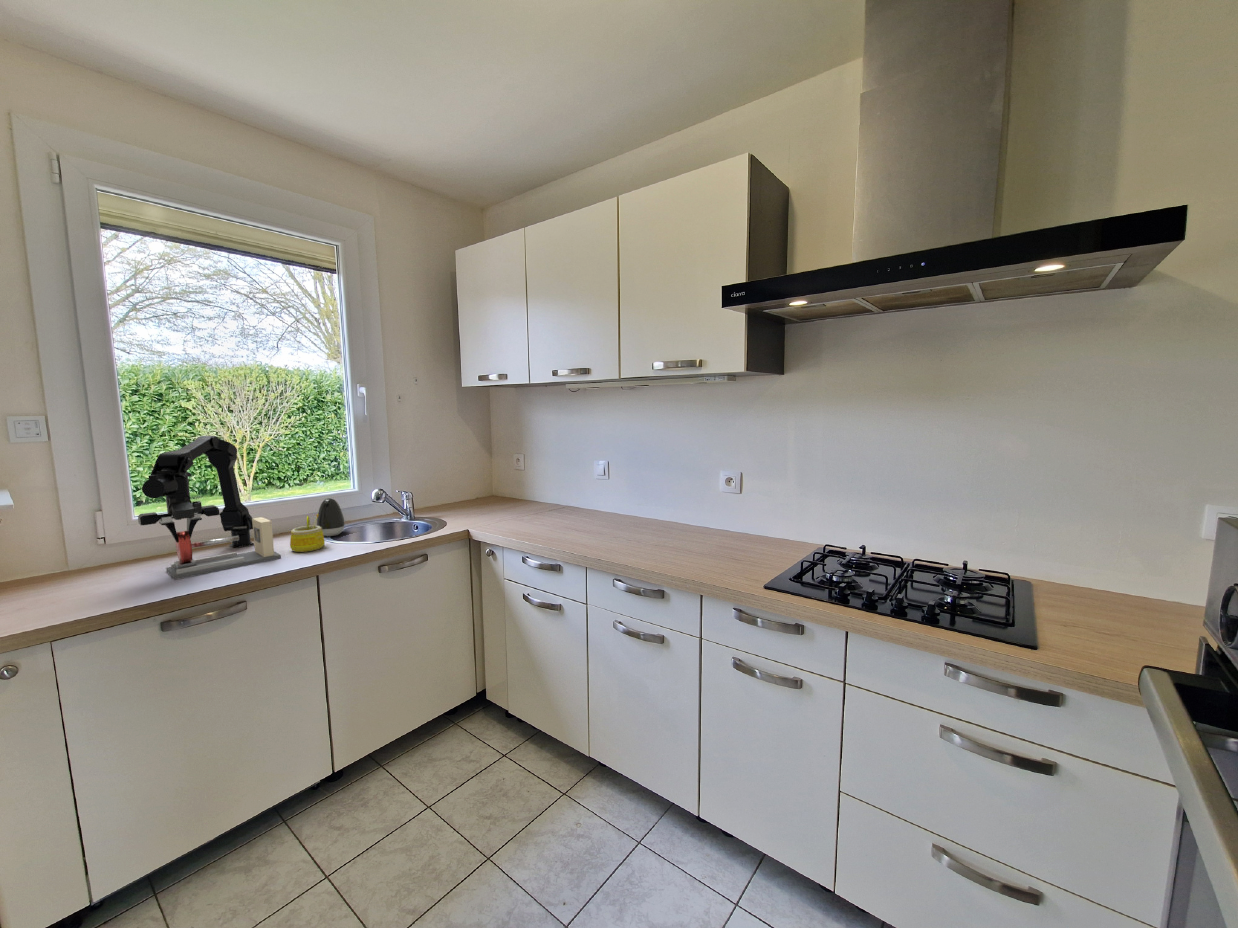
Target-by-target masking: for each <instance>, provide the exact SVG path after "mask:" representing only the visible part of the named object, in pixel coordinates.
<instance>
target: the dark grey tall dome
mask: <svg viewBox="0 0 1238 928" xmlns="http://www.w3.org/2000/svg"><path fill="white" fill-rule="evenodd" d="M317 514H318V515H319V516H318V517H317V516H316V517H317V521H316V524H315V526H320V527H322V531H323V536H324V537H334V536H338V535H340V534H342V532H343V531H344V529H345V526H346V521H345V516H344V513H343V511H342V509H341V506H340V505H339V503H338V502H337V500H336V499H334V498H331V497H329V498H325V499H323V500H322V502H321V503H320V506H319V508H318V511H317Z"/></svg>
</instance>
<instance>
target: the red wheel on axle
mask: <svg viewBox="0 0 1238 928" xmlns="http://www.w3.org/2000/svg"><path fill="white" fill-rule="evenodd" d="M176 532H177V536H178V543H177V542H176V541H175V540H174V542H175V548H176V549H175V550H176V554H177V559H178V560H176V561H173V563H174V566H175V568H176V569H182V568H187V567H192V566H197V563H196V561H195V559H193V549H195V548H201V547H202V548H203V547H206V546H212V545H219V544H224V543H225V544H227V543H230V542H231V543H232V541H238V540H239V536H233V537H231V536H228V537H221V538H215V539H208V540H203V541H198V542H192V540H191V539H190V536H189V533H188V531H187V530H183V531H182V530H181V531H176Z"/></svg>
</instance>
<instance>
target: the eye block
mask: <svg viewBox="0 0 1238 928" xmlns="http://www.w3.org/2000/svg"><path fill="white" fill-rule="evenodd" d="M252 518H253V517H252ZM252 523H253V529H252V532H253V541H254V542H253V543H254V550H253V551H248V552H242V553H238V552H237V551H235V552H229V553H223V554H218V555H214V556H213V555H212V556H207V557H201V558H196V559H194V560H195V561H196V563H197V566H192V567H187V568H182V569H176V568H175V566H174V562H173V563H171V564H170V566H166V568H165V569H166V572H167V573H168V575H169V576H170V577H171V578H172V579H173V580H174V581H176V580H181V579H185V578H190V577H194V576H199V575H205V574H209V573H214V572H219V571H225V570H229V569H234V568H239V567H243V566H249V565H252V564H258V563H265V562H270V561H275V560H279V559H282V557H281V554H280V553H278V552H277V551H275V548H274V547H275V546H274V535H273V525H272V520H270V519H268V518H265V517H263V516H262V517H260V516H259V517H254V518H253V519H252Z"/></svg>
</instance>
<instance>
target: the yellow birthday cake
mask: <svg viewBox="0 0 1238 928" xmlns="http://www.w3.org/2000/svg"><path fill="white" fill-rule="evenodd" d="M318 516H319V515H318V513H317V514H316V517H315V521H314V524H313V525H311V522H310V521H311V520H310V516H306V525H302V526H299V527H294V528H293V529H291V531H290V539H289V540H290V541H289V545H290V546H289V547H290V550H291V551H292V552H295V553H307V552H313V551H316V550H320V549H321V548H322V547H324V546H325V536H323V531H322V527H320V526H316V522H317V517H318Z"/></svg>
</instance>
